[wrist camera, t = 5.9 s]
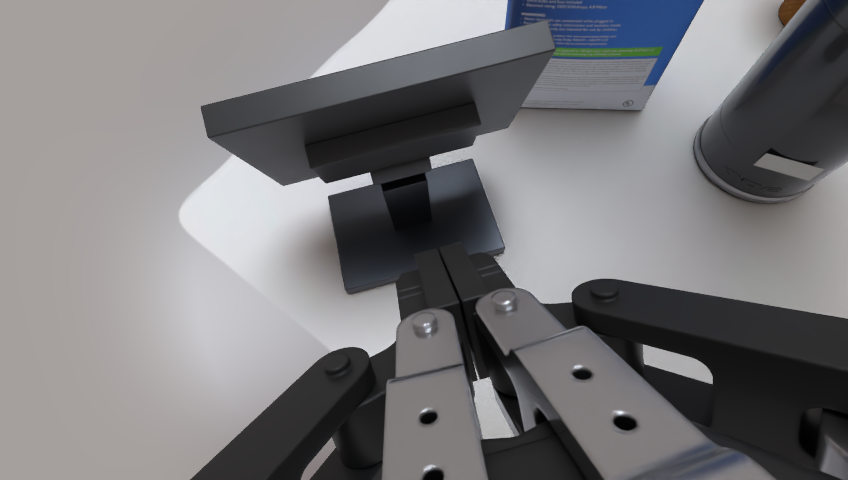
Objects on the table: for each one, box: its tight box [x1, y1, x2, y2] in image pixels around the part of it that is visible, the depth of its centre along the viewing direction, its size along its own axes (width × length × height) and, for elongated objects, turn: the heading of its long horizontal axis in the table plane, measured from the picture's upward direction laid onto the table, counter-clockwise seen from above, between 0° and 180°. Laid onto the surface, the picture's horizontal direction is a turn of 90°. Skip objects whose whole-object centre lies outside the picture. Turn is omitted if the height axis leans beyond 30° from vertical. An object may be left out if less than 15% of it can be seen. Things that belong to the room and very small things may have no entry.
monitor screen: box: [201, 20, 556, 186], centre depth 25 cm, size 4×17×11 cm, turn 104°
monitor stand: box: [328, 159, 505, 294], centre depth 33 cm, size 9×13×7 cm
